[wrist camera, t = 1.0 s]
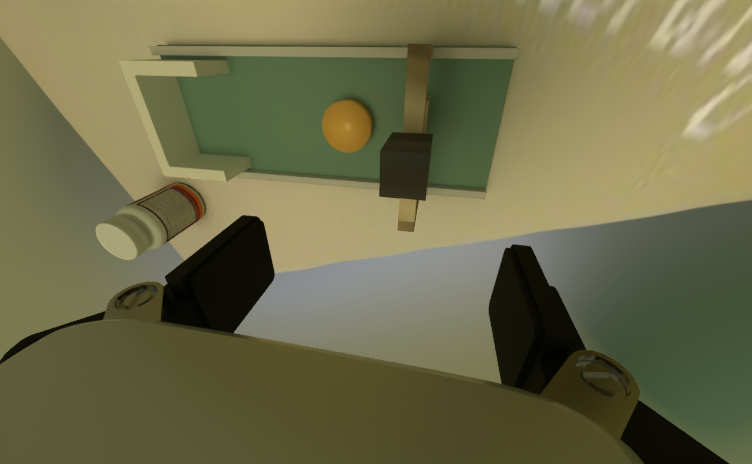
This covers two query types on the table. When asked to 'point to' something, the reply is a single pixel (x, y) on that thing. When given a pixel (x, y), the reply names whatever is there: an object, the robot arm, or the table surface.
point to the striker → (409, 142)
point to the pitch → (315, 111)
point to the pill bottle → (150, 221)
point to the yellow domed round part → (347, 125)
